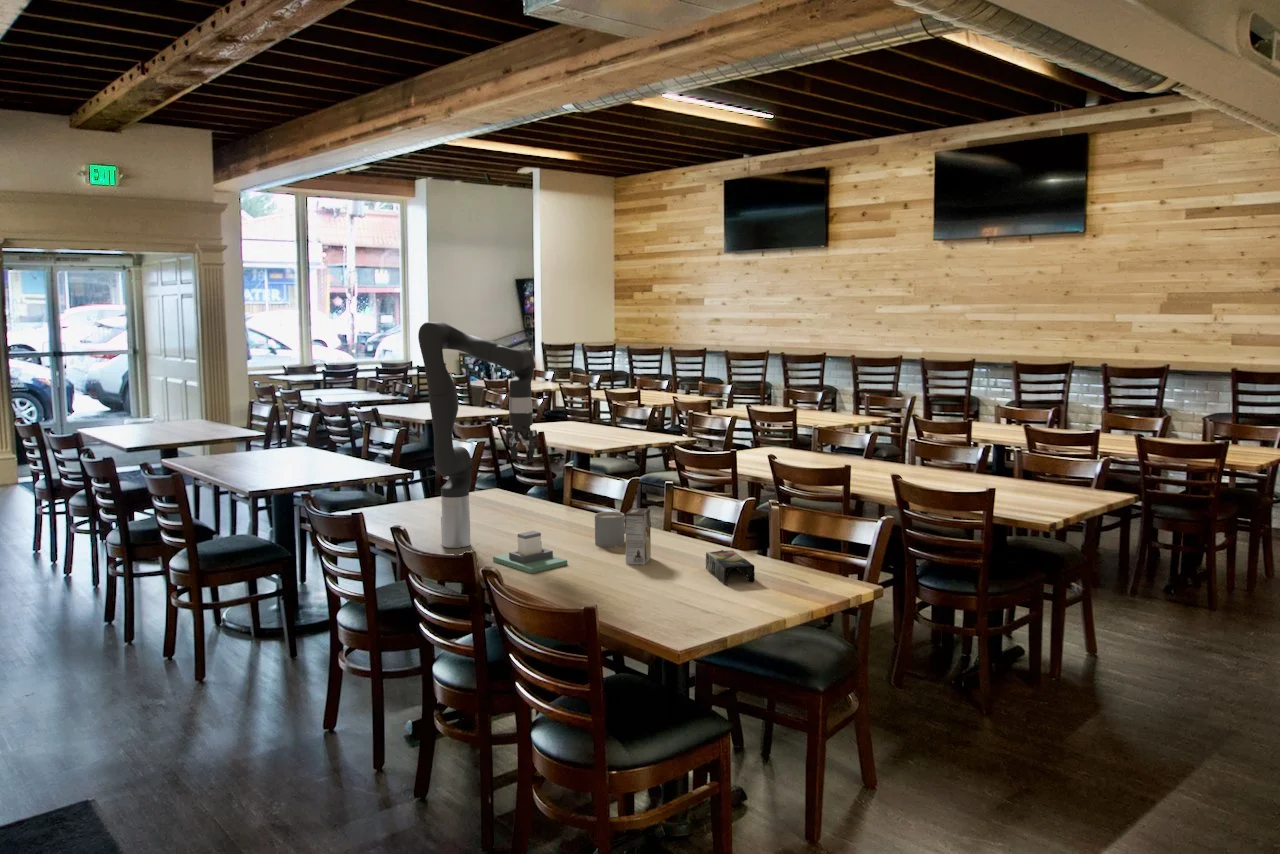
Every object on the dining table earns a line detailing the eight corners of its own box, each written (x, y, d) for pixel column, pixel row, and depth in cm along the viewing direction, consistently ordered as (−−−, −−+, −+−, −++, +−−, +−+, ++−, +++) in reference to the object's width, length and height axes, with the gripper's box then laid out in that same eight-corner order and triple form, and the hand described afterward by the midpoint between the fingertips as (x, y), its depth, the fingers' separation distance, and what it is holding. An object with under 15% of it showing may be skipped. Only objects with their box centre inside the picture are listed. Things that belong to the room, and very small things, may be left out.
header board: (493, 561, 308) (492, 550, 308) (529, 553, 318) (528, 542, 317) (530, 573, 294) (530, 562, 293) (567, 564, 303) (567, 553, 302)
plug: (518, 558, 305) (517, 533, 304) (536, 554, 310) (535, 530, 309) (525, 561, 302) (525, 536, 301) (543, 557, 307) (543, 532, 306)
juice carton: (702, 568, 298) (702, 548, 298) (733, 566, 301) (733, 547, 300) (723, 587, 279) (724, 566, 278) (756, 585, 281) (756, 564, 281)
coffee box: (631, 556, 312) (631, 507, 310) (651, 557, 311) (650, 508, 309) (625, 564, 303) (624, 513, 301) (645, 565, 302) (645, 514, 300)
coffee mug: (604, 548, 323) (603, 519, 322) (589, 542, 331) (589, 513, 330) (638, 543, 330) (638, 514, 328) (623, 537, 338) (623, 509, 337)
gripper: (498, 410, 318) (499, 459, 320) (524, 413, 308) (525, 464, 310) (517, 408, 323) (518, 456, 325) (543, 411, 313) (544, 461, 315)
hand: (522, 460), depth 317 cm, fingers open, 8 cm apart
